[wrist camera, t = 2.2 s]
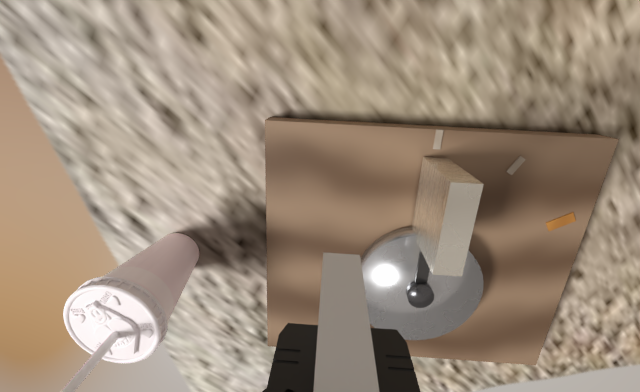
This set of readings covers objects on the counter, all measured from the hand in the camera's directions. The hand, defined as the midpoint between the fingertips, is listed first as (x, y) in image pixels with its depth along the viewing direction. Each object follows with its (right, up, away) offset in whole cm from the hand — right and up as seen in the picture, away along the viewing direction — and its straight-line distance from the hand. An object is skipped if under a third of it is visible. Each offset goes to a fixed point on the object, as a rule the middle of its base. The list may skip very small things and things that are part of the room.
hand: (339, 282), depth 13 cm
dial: (+7, -1, +13) cm, 15 cm away
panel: (+7, -1, +15) cm, 17 cm away
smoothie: (-14, -1, +16) cm, 22 cm away
